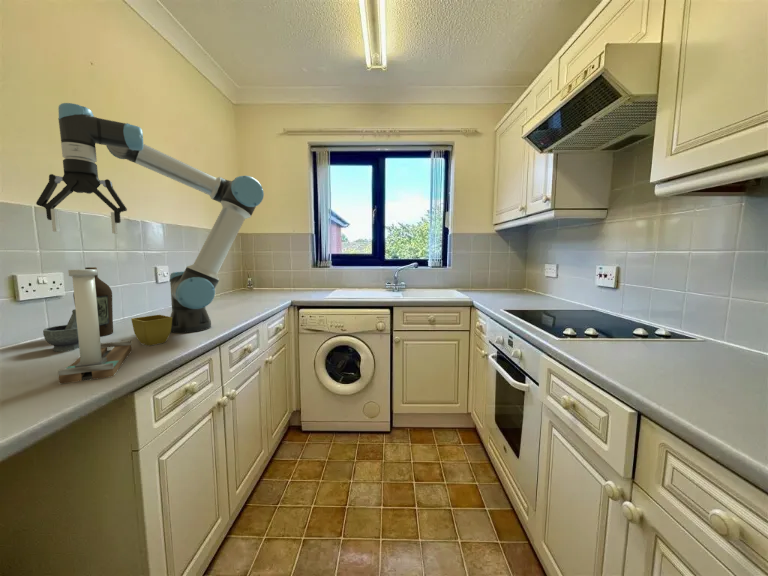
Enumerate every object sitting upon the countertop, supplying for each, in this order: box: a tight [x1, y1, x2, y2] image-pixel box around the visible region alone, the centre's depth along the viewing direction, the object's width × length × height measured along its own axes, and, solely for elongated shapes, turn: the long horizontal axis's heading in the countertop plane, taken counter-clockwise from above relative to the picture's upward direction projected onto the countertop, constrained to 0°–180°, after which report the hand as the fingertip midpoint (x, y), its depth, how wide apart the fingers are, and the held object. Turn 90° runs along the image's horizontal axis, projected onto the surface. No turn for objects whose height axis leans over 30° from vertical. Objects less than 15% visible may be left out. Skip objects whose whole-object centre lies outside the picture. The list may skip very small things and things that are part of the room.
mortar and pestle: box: [42, 308, 79, 352], centre depth 103 cm, size 11×9×12 cm
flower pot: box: [130, 314, 172, 347], centre depth 109 cm, size 9×9×9 cm
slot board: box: [57, 340, 133, 385], centre depth 89 cm, size 10×24×3 cm, turn 29°
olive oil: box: [72, 266, 114, 337], centre depth 118 cm, size 11×11×25 cm
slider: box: [67, 268, 107, 368], centre depth 81 cm, size 5×5×24 cm
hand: (86, 232), depth 99 cm, fingers open, 13 cm apart
